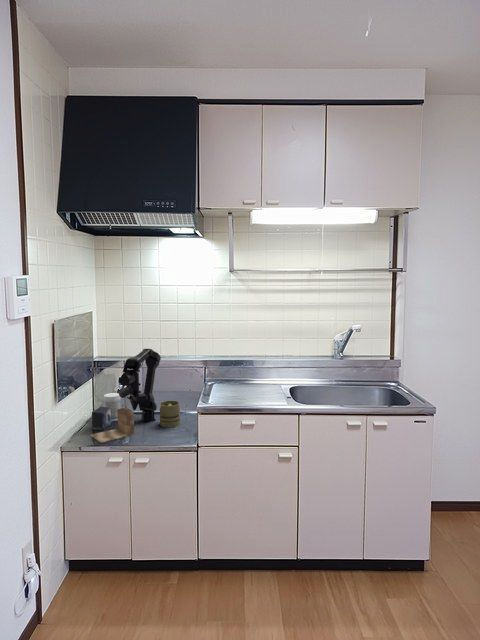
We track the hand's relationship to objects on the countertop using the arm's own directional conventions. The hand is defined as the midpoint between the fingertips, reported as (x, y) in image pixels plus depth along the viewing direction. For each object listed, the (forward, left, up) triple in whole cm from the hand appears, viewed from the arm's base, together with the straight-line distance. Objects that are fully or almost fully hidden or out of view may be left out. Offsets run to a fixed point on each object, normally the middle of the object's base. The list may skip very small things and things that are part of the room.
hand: (134, 410), depth 256 cm
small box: (+12, -15, -11) cm, 23 cm away
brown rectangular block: (+5, 0, -11) cm, 12 cm away
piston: (-20, +4, -11) cm, 23 cm away
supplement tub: (+1, -25, -11) cm, 28 cm away
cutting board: (+15, 0, -11) cm, 19 cm away
